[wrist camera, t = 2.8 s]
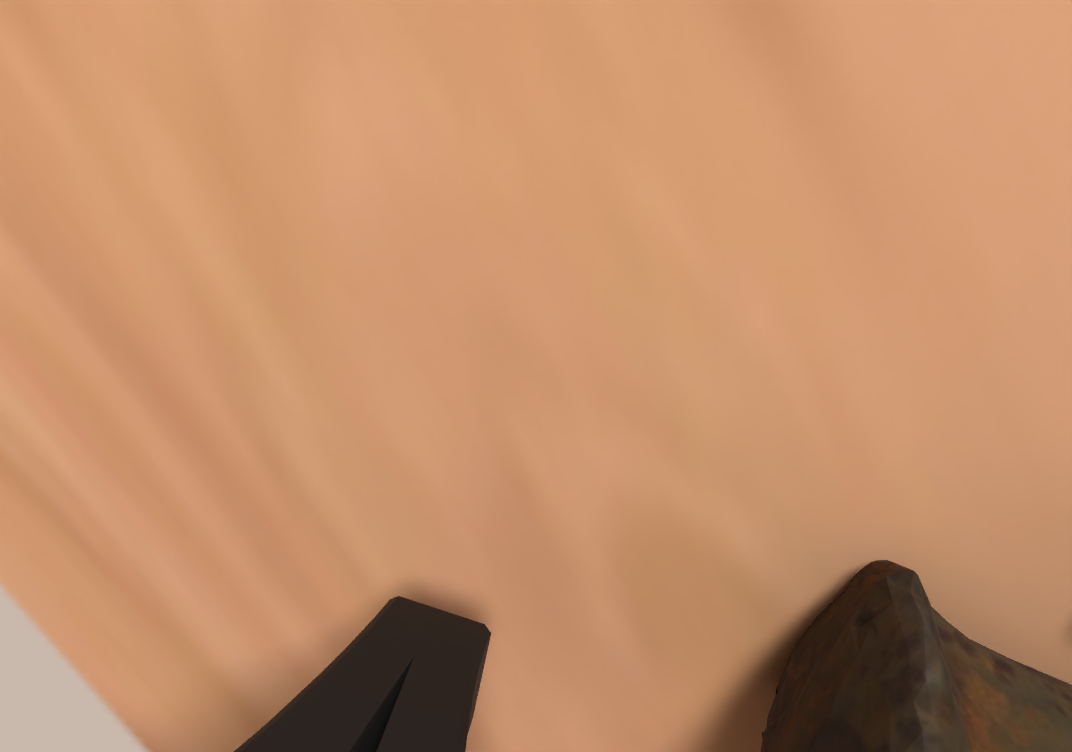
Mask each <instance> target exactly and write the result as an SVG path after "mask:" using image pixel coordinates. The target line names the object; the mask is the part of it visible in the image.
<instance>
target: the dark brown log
mask: <svg viewBox="0 0 1072 752" xmlns="http://www.w3.org/2000/svg"><path fill="white" fill-rule="evenodd" d="M762 736H763V742H762V748H761V752H1072V685H1070V684H1068V683H1066V682H1063V681H1061V680H1059V679H1056V678H1054V677H1052V676H1049V675H1047V674H1045V673H1042V672H1040V671H1037V670H1035V669H1033V668H1030V667H1028V666H1026V665H1023V664H1021V663H1019V662H1016V661H1014V660H1012V659H1009V658H1007V657H1005V656H1003V655H1001V654H999V653H997V652H995V651H993V650H991V649H989V648H987V647H985V646H983V645H981V644H978V643H976V642H974V641H972V640H970V639H969V638H967V637H966V636H965V635H963V634H962V633H961V632H960V631H958V630H957V629H956V628H955V627H953V626H952V625H951V624H950V623H948V622H947V621H946V620H945V619H944V618H943V617H942V616H941V615H940V614H939V613H938V612H937V611H935V610H934V609H933V608H932V607H931V604H930V602H929V600H928V598H927V595H926V593H925V591H924V588H923V586H922V584H921V581H920V579H919V577H918V575H917V574H916V573H915V572H914V571H913V570H910V569H908V568H905V567H903V566H901V565H898V564H896V563H893V562H891V561H888V560H880V561H874V562H871V563H869V564H868V565H867V566H865V567H864V568H863V569H861V570H860V571H859V572H858V574H857V575H856V576H855V577H854V579H853V580H852V581H851V584H850V585H849V587H848V588H847V589H846V591H845V592H844V593H843V594H841V595H840V596H839V597H838V598H837V599H836V600H835V601H834V603H832V604H831V605H830V606H829V607H828V608H827V609H825V610H824V611H823V612H822V613H821V614H820V615H819V616H818V617H817V618H816V619H815V621H814V622H813V623H812V624H811V626H810V627H809V628H808V630H807V631H806V632H805V634H804V635H803V636H802V638H801V639H800V640H799V642H798V643H797V645H796V647H795V648H794V650H793V652H792V654H791V656H790V658H789V661H788V663H787V665H786V668H785V670H784V672H783V675H782V677H781V679H780V682H779V684H778V687H777V689H776V696H775V699H774V702H773V704H772V707H771V710H770V713H769V716H768V720H767V726H766V729H765V731H764V732H763V733H762Z"/></svg>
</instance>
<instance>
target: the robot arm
mask: <svg viewBox="0 0 1072 752" xmlns="http://www.w3.org/2000/svg"><path fill="white" fill-rule="evenodd" d="M490 636H491V632H490V631H489V630H488V628H487V627H486V626H485V624H482V623H479V622H476V621H473V620H470V619H467V618H464V617H461V616H457V615H454V614H451V613H448V612H445V611H442V610H439V609H436V608H433V607H430V606H427V605H424V604H421V603H418V602H415V601H412V600H409V599H406V598H403V597H400V596H398V597H395V598H393V599H390V600H389V601H388V603H387V604H386V605H385V606H384V607H383V608H382V610H381V611H380V612H379V613H378V614H377V615H376V616H375V618H374V619H373V620H372V621H371V622H370V623H369V624H368V625H367V626H366V627H365V629H364V630H363V631H362V632H361V633H360V634H359V635H358V636H357V637H356V638H355V639H354V640H353V641H352V642H351V643H350V644H349V645H348V647H347V648H346V649H345V650H344V651H343V652H342V653H341V654H340V655H339V656H338V657H337V658H336V659H335V660H334V661H333V662H332V663H331V664H330V665H329V666H328V667H327V668H326V669H325V670H324V671H323V672H322V673H321V674H320V675H319V676H318V677H316V678H315V679H314V680H313V681H312V682H311V683H310V684H309V685H308V686H307V687H306V688H305V689H304V690H303V691H301V692H300V693H299V694H298V695H297V696H296V697H295V698H294V699H293V700H292V701H291V702H290V703H289V704H287V705H286V706H285V707H284V708H283V709H282V710H281V711H280V712H279V713H278V714H277V715H276V716H275V717H274V718H272V719H271V720H270V721H269V722H268V723H267V724H266V725H265V726H263V727H262V728H261V729H260V730H259V731H258V732H257V733H255V734H254V735H253V736H252V737H251V738H249V739H248V740H247V741H246V742H245V743H244V744H242V745H241V746H240V747H239V748H238V749H236V750H235V751H234V752H465V749H466V741H467V735H468V731H469V728H470V725H471V722H472V718H473V714H474V710H475V705H476V700H477V696H478V691H479V687H480V682H481V677H482V673H483V668H484V664H485V659H486V654H487V650H488V645H489V640H490Z"/></svg>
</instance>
